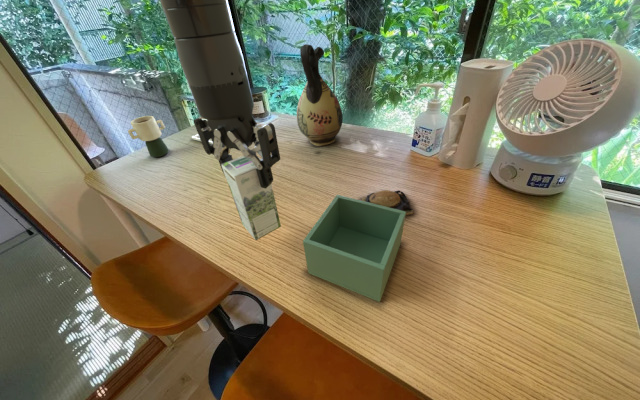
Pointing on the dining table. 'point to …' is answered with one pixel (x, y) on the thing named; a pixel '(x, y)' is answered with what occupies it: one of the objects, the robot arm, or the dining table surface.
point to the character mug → (149, 134)
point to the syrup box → (251, 197)
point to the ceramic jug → (317, 102)
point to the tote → (355, 245)
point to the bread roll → (390, 200)
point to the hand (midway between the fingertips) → (248, 180)
